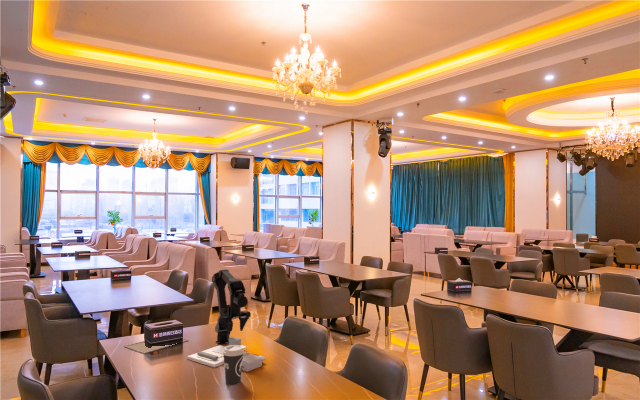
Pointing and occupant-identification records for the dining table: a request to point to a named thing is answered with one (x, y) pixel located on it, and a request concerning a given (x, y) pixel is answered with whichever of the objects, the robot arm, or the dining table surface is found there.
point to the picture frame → (143, 349)
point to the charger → (251, 362)
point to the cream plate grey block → (235, 342)
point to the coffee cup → (233, 363)
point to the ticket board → (210, 363)
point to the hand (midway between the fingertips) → (235, 332)
